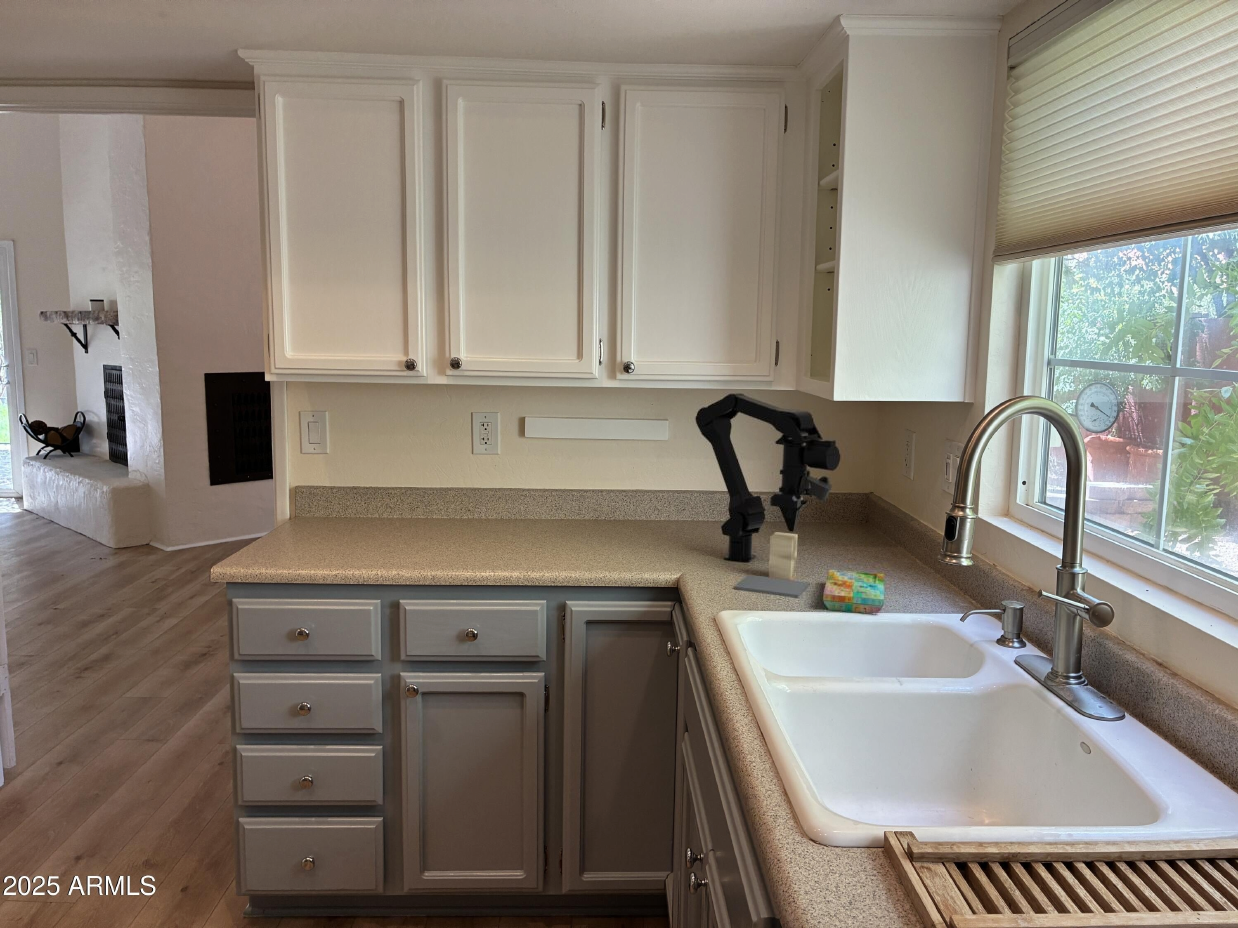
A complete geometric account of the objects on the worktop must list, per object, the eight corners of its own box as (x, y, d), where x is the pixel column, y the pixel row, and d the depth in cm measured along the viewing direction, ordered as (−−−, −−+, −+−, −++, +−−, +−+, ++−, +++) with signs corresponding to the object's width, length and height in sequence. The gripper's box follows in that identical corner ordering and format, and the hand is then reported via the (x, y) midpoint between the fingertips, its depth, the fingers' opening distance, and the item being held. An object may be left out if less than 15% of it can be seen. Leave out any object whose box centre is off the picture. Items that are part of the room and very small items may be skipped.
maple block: (774, 574, 214) (776, 532, 213) (795, 576, 212) (797, 534, 211) (768, 579, 210) (770, 536, 208) (790, 582, 208) (792, 538, 206)
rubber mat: (748, 577, 211) (748, 574, 211) (809, 585, 206) (809, 582, 205) (734, 589, 201) (734, 586, 201) (798, 597, 196) (798, 594, 195)
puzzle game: (823, 589, 186) (829, 565, 205) (822, 612, 187) (828, 586, 206) (884, 595, 183) (884, 570, 202) (882, 617, 184) (883, 591, 203)
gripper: (821, 473, 203) (817, 543, 205) (837, 463, 219) (834, 527, 222) (771, 469, 207) (768, 537, 209) (791, 459, 224) (788, 522, 226)
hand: (791, 531), depth 217 cm, fingers closed
